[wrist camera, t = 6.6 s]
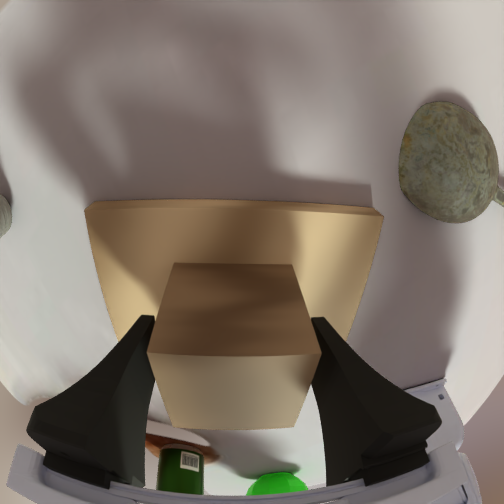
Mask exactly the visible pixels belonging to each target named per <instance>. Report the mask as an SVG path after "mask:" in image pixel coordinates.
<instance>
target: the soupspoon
mask: <svg viewBox="0 0 504 504" xmlns="http://www.w3.org/2000/svg"><path fill="white" fill-rule="evenodd" d="M498 173H499V165H498V156H497V152H496V148H495V145H494V142H493V139H492V137H491V135H490V134H489V132H488V130H487V129H486V127H485V126H484V125H483V124H482V122H481V121H480V120H479V119H478V118H476V117H475V116H474V115H472V114H471V113H470V112H468V111H467V110H465V109H463V108H462V107H459V106H458V105H455V104H453V103H450V102H433V103H427V104H425V105H423V106H422V107H421V108H420V109H419V110H418V111H417V112H416V113H415V115H414V116H413V118H412V119H411V121H410V123H409V125H408V127H407V129H406V131H405V134H404V137H403V140H402V144H401V149H400V156H399V181H400V187H401V190H402V191H403V193H404V194H405V195H406V197H407V198H408V199H409V200H410V201H411V202H412V203H413V204H414V205H415V206H416V207H418V208H419V209H420V210H421V211H422V212H424V213H426V214H427V215H429V216H431V217H433V218H435V219H437V220H441V221H444V222H448V223H463V222H467V221H470V220H472V219H474V218H476V217H477V216H479V215H480V214H482V213H483V212H484V210H485V209H486V208H487V207H488V205H489V204H490V202H491V201H492V200H494V201H495V202H497V203H499V204H500V205H502V206H503V207H504V191H503V190H502V189H501V188H499V187H498V185H497V183H498Z"/></svg>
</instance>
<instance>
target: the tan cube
mask: <svg viewBox="0 0 504 504" xmlns="http://www.w3.org/2000/svg"><path fill="white" fill-rule="evenodd" d="M321 354H322V353H321V350H320V347H319V344H318V340H317V337H316V334H315V331H314V328H313V325H312V322H311V319H310V316H309V313H308V310H307V307H306V304H305V301H304V298H303V295H302V292H301V289H300V286H299V283H298V280H297V277H296V274H295V271H294V269H293V266H292V264H226V263H176V262H174V264H173V267H172V270H171V273H170V276H169V279H168V282H167V285H166V288H165V291H164V295H163V298H162V301H161V304H160V308H159V311H158V314H157V318H156V321H155V324H154V328H153V331H152V335H151V338H150V342H149V346H148V349H147V355H148V358H149V362H150V365H151V368H152V371H153V374H154V377H155V380H156V383H157V386H158V388H159V391H160V394H161V397H162V399H163V402H164V405H165V407H166V410H167V413H168V415H169V418H170V420H171V423H172V425H173V427H177V428H190V429H209V430H256V429H276V428H289V427H294V425H295V423H296V420H297V418H298V416H299V413H300V411H301V408H302V406H303V403H304V401H305V398H306V395H307V393H308V390H309V387H310V385H311V382H312V379H313V377H314V374H315V371H316V368H317V365H318V362H319V360H320V357H321Z"/></svg>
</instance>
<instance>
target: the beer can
mask: <svg viewBox="0 0 504 504" xmlns="http://www.w3.org/2000/svg"><path fill="white" fill-rule="evenodd" d="M156 490H159V491H166V492H174V493H183V494H195V495H204V456H203V454H202V452H201V450H199V449H198V448H195V447H193V446H189V445H183V444H166V445H164V446H163V447H162V449H161V450H160V455H159V464H158V475H157V485H156Z"/></svg>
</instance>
